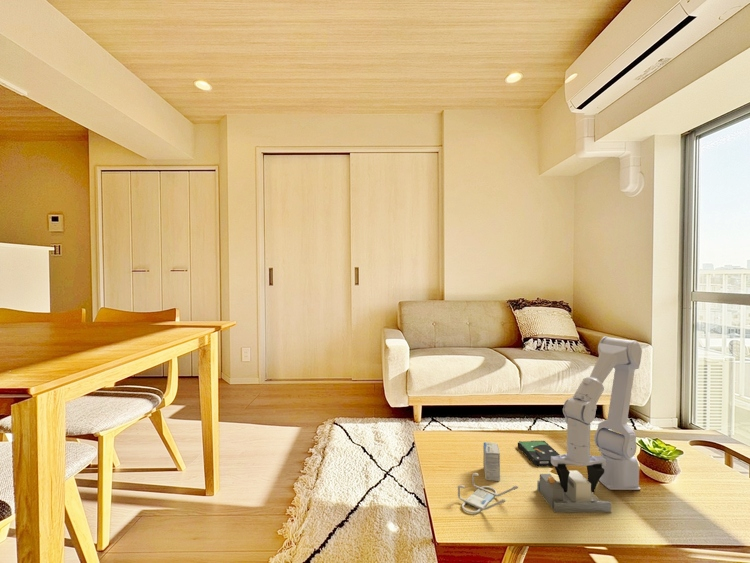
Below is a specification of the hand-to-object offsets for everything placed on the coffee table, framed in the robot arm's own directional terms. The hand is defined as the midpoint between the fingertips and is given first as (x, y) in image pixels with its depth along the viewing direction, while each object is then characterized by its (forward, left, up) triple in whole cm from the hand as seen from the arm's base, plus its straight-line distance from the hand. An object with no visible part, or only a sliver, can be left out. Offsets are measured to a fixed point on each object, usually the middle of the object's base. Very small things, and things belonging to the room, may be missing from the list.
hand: (577, 490), depth 109 cm
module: (0, 0, -2) cm, 2 cm away
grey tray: (+2, 0, -3) cm, 3 cm away
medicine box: (+20, -14, -3) cm, 25 cm away
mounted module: (+8, 0, -3) cm, 8 cm away
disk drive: (-1, -27, -4) cm, 27 cm away
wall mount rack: (+26, +2, -3) cm, 26 cm away
